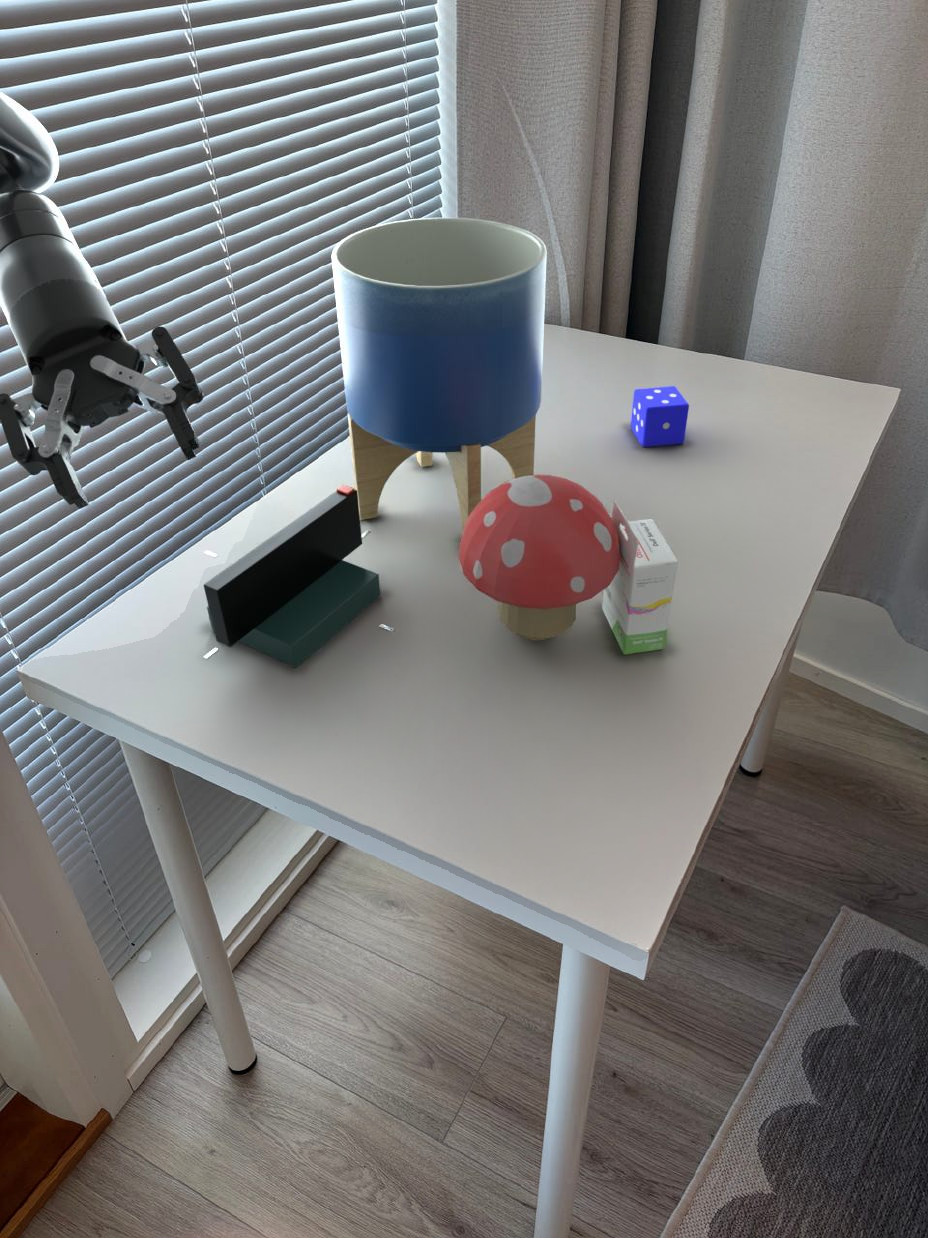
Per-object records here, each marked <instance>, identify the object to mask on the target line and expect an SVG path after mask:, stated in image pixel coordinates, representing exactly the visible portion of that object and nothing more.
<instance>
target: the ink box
mask: <svg viewBox="0 0 928 1238" xmlns="http://www.w3.org/2000/svg"><path fill="white" fill-rule="evenodd" d="M611 519H612V521H613V523H614V525H615V528H616V530H617V533H618V537H619V543H620V555H619V570H618V572H617V574H616V575H615V577H614V579H613V580H612V582H611V584H610V585H609V586H608V587H606V588H605V589H604V590H603V596H602V604H601V605H602V607H601V609H602V612H603V614H604V616H605V618H606V620H607V622H608V624H609V626H610V629H611V630H612V633H613V635H614V637H615V639H616V641H617V643H618V646H619V648H620V651H621V652H622V654H623V655H625V656H626V655H632V654H637V653H645V652H652V651H658V650H664V649H665V648H666V640H667V633H668V626H669V619H670V613H671V607H672V606H671V605H672V600H673V594H674V586H675V582H676V575H677V568H678V563H679V561H678V559H677V558H676V556H675V554H674V552H673V551H672V549H671V547H670V546H669V544H668V542H667V540H666V539H665V538H664V536H663V534H662V532H661V530H660V529H659V527H658V526H657V525H656V523H655V521H654V520H653V519H652V518H649V519H640V520H639V519H638V520H631V521H629V520H628V519H627V517H626V515H625V514H624V512H623V511H622V509H621V508H620V506H619V504H618V502H617V501H616V500H614V502H613V504H612V512H611Z"/></svg>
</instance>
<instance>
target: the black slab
mask: <svg viewBox="0 0 928 1238" xmlns="http://www.w3.org/2000/svg"><path fill="white" fill-rule="evenodd" d="M361 526H362V525H361V520H360V515H359V505H358V495H357V490H355V487H352V486H349V485H346V484H342V485H341V486H339V487H338V488H336V490H335V491H334V492H332V493H331V494H329V495H328V496H327V497H325V498H324V499H323V500H321V501H320V502H318V503H317V504H315V505H314V506H313V507H311V508H310V509H308V510H307V511H305V512H304V513H303V514H302V515H300V516H299V517H297V518H295V519H294V520H293V521H291V522H290V523H289V524H287V525H285V526H284V527H283V528H282V529H280V530H278V531H277V532H276V533H274V534H273V535H272V536H270V537H269V538H267V539H266V540H265V541H263V542H262V543H260V544H258V545H257V546H256V547H254V548H253V549H252V550H250V551H249V552H247V553H246V554H244V555H243V556H242V557H240V558H239V559H237V560H236V561H235V562H233V563H232V564H231V565H229V566H228V567H226V568H225V569H223V570H222V571H220V572H219V573H218V574H216V575H215V576H213V577H212V578H211V579H209V580H208V581H206V582H205V583H203V589H204V594H205V598H206V602H207V606H208V607H209V611H210V615H211V619H212V623H213V628H214V629H213V631H214V632H213V633H214V636H215V639H216V642H218V643H219V644H222V645H223V646H226V647H228V648H231V647H233V646H234V645H235V644H236V643H238V642H240V641H239V640H240V639H242V638H243V637H244V636H245V635H247V634H248V633H249V632H251V631H252V630H253V629H254V628H256V627H257V626H258V625H259V624H261V623H262V622H263V621H265V620H266V619H267V618H268V617H270V616H271V615H272V614H274V613H275V612H276V611H277V610H279V609H280V608H281V607H282V606H284V605H285V604H286V603H288V602H289V601H290V600H291V599H293V598H294V597H295V596H297V595H298V594H299V593H300V592H302V591H303V590H304V589H305V588H307V587H308V586H309V585H311V584H312V583H313V582H314V581H316V580H317V579H318V578H319V577H321V576H322V575H323V574H325V573H326V572H327V571H328V570H330V569H331V568H332V567H334V566H335V565H336V564H337V563H339V562H340V561H341V560H344V559H345V558H347V557H349V555H350V554H352V553H353V552H355V551H356V550H357V549H358V548H359V547H360V546H362V545H363V539H362V527H361Z"/></svg>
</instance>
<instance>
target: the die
mask: <svg viewBox="0 0 928 1238" xmlns="http://www.w3.org/2000/svg"><path fill="white" fill-rule="evenodd" d="M631 409H632V410H631V418H630V429H631V430H632V432H633V434H634V436H635V437H636V438H637V440H638V442H639V444H640V445H641V447H642V448H648V447H649V448H650V447H660V446H670V445H682V444H684V443H685V438H686V437H685V436H686V430H687V423H688V415H689V410H690V404H689V403H688V401H687V400H686V399H685V397H684V396H683V395H682V394H681V392H680V391H679V390H678V388H677V387H676V386H675V385H669V386H657V387H647V388H646V387H645V388H636V389H634V391H633V399H632V408H631Z"/></svg>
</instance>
